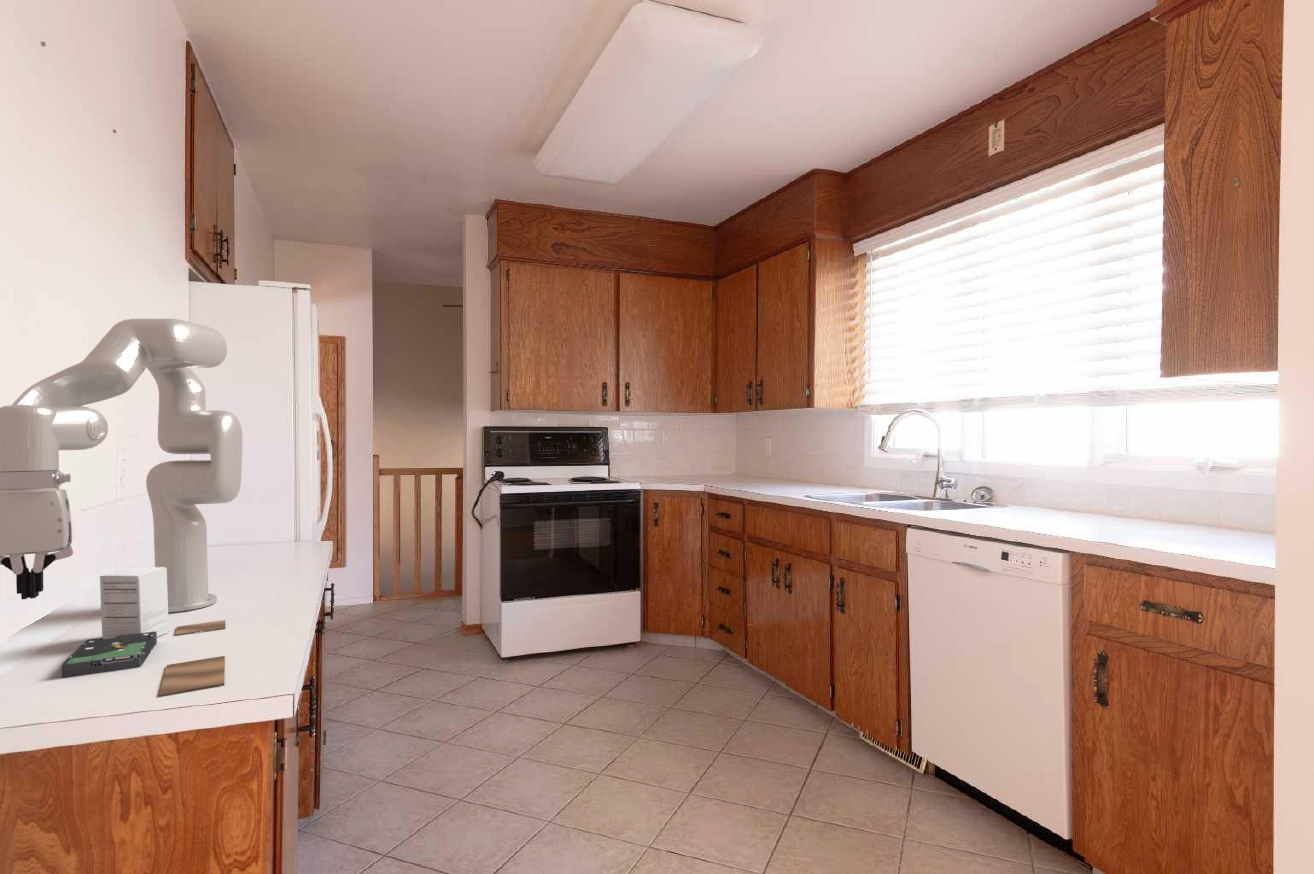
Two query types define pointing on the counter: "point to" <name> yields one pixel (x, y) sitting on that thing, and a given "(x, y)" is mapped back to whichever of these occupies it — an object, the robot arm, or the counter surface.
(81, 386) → the robot arm
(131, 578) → the supplement box
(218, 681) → the flat brown wooden pieces
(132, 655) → the disk drive
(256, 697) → the counter surface
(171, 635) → the counter surface
